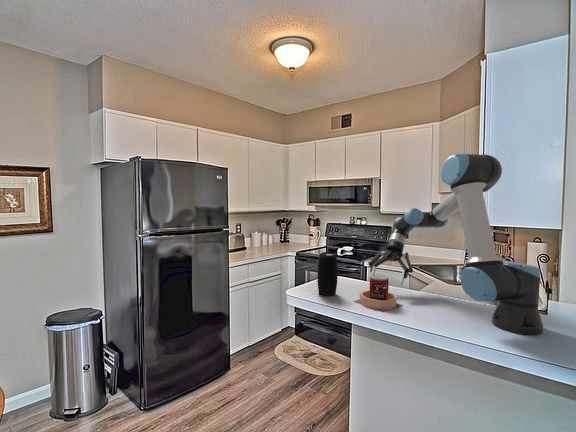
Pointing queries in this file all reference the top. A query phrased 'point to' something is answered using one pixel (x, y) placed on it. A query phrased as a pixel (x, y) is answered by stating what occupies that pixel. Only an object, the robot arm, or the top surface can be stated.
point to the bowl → (378, 301)
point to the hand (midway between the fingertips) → (385, 281)
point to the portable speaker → (327, 274)
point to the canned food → (379, 287)
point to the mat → (382, 309)
